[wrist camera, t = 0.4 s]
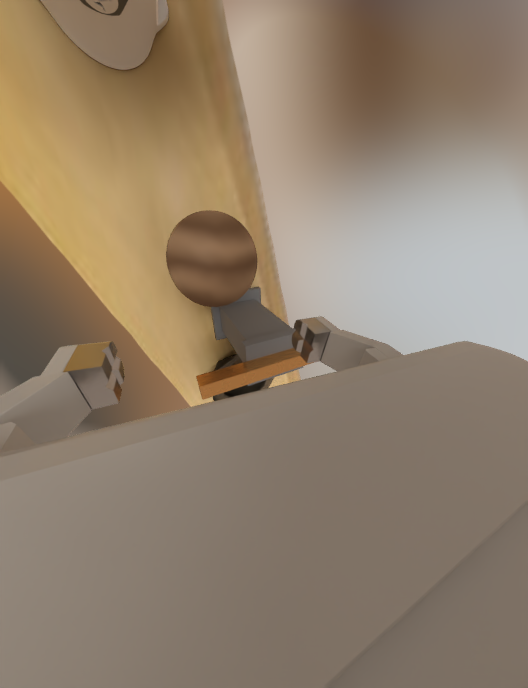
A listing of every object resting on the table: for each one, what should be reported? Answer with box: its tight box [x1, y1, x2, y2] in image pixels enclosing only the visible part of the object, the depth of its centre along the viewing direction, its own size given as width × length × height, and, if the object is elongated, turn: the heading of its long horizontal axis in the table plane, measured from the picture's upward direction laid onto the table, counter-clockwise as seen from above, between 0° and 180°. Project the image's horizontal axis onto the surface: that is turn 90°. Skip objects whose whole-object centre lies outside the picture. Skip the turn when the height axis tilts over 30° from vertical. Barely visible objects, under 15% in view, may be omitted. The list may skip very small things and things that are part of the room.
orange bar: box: [196, 348, 314, 399], centre depth 40 cm, size 3×25×3 cm, turn 90°
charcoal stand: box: [211, 287, 303, 386], centre depth 52 cm, size 14×15×26 cm
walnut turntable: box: [166, 211, 257, 307], centre depth 37 cm, size 16×16×1 cm
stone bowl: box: [213, 354, 274, 401], centre depth 71 cm, size 25×25×9 cm
